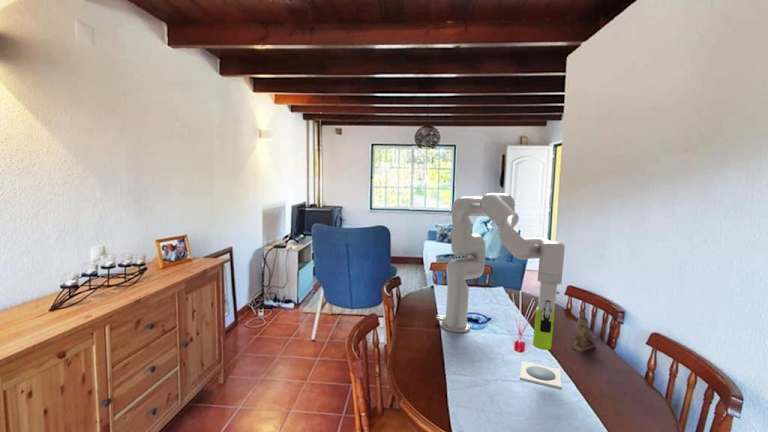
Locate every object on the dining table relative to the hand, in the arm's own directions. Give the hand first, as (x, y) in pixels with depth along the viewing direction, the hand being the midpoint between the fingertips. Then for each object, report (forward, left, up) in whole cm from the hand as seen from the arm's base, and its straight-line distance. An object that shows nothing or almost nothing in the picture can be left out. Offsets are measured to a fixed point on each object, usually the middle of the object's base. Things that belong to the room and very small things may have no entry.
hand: (545, 328), depth 132 cm
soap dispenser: (0, 0, -7) cm, 7 cm away
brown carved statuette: (+16, +34, -17) cm, 41 cm away
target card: (0, 0, -17) cm, 17 cm away
